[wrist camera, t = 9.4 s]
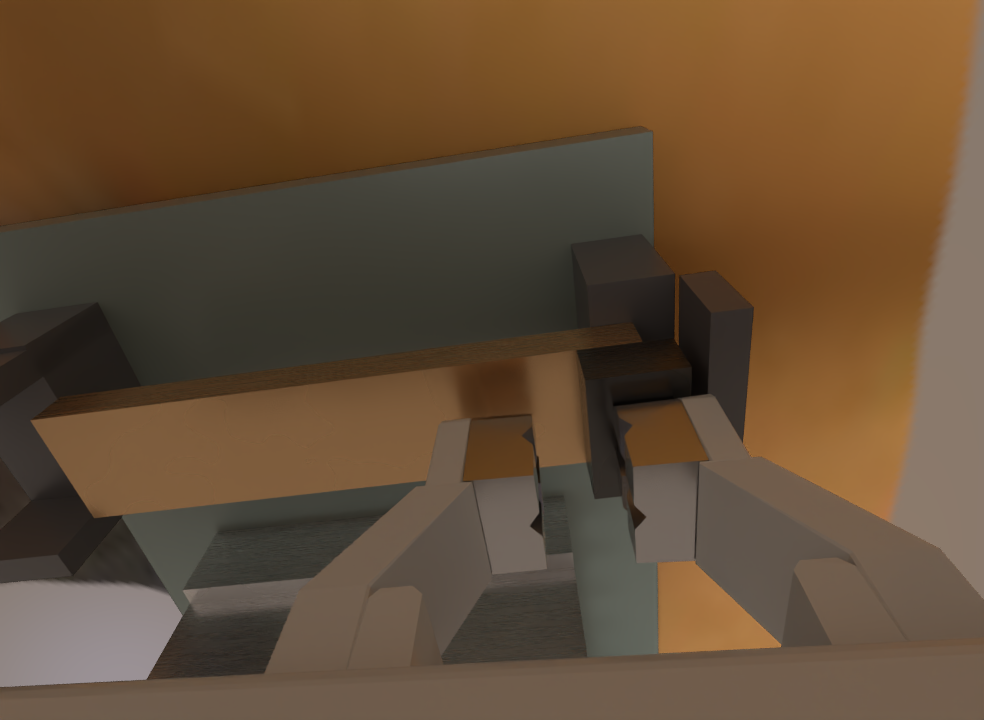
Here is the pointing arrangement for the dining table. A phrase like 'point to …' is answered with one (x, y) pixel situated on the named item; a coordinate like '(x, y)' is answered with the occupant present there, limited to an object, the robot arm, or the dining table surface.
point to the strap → (353, 419)
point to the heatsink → (313, 545)
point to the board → (358, 311)
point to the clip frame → (103, 367)
